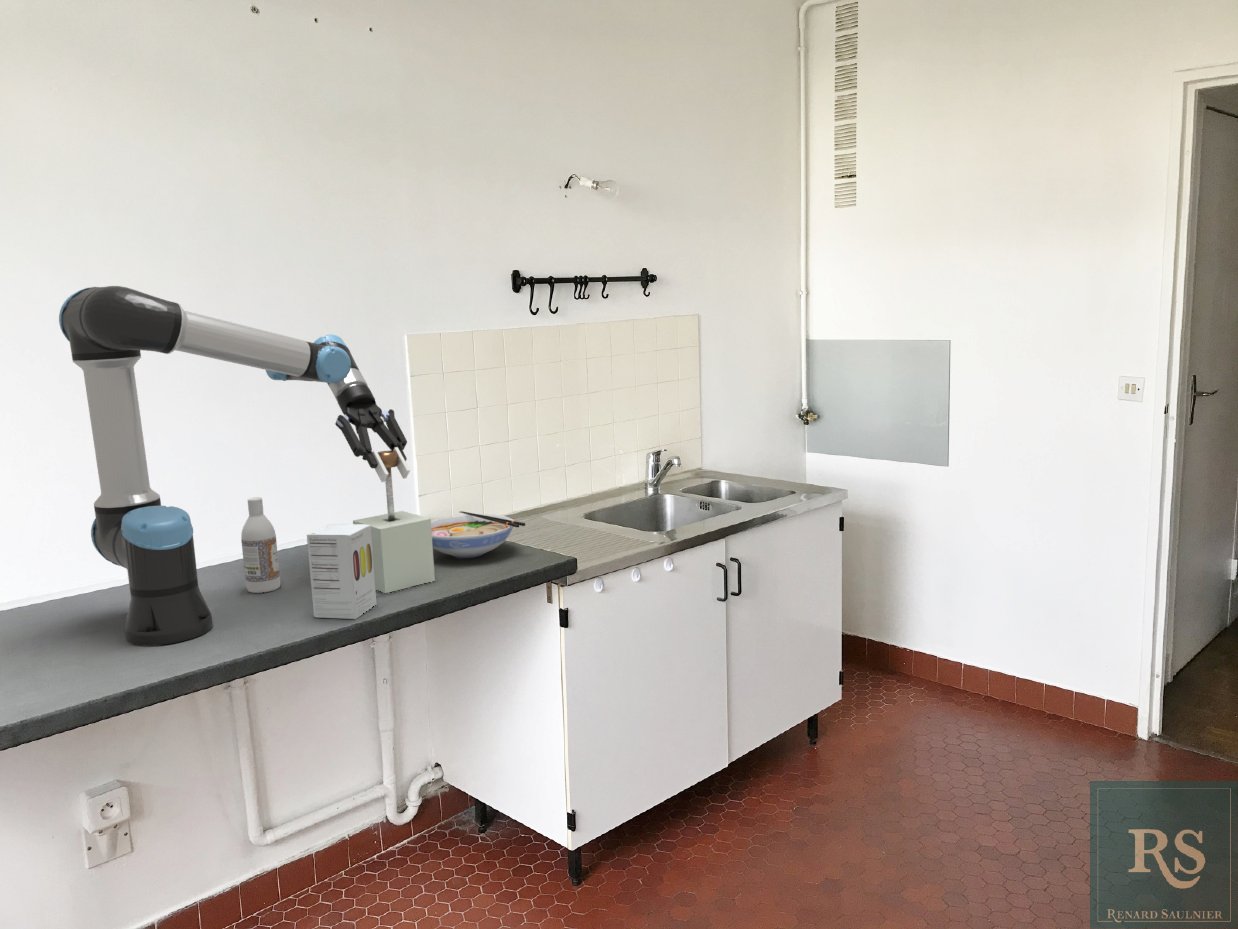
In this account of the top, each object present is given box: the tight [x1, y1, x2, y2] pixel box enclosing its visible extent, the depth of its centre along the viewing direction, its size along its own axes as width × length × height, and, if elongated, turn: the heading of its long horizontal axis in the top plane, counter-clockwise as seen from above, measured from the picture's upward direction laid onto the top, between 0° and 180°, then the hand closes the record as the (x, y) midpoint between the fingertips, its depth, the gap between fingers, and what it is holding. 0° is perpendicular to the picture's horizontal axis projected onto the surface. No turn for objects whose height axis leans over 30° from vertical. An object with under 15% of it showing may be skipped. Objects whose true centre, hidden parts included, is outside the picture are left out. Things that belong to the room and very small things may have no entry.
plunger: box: [377, 450, 398, 522], centre depth 208 cm, size 9×9×19 cm
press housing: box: [352, 510, 436, 593], centre depth 210 cm, size 12×12×14 cm
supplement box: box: [306, 523, 377, 620], centre depth 191 cm, size 10×9×17 cm
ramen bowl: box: [431, 510, 526, 559], centre depth 231 cm, size 25×23×8 cm
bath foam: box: [240, 496, 281, 594], centre depth 208 cm, size 7×7×20 cm
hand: (395, 476), depth 205 cm, fingers closed on plunger, 4 cm apart
